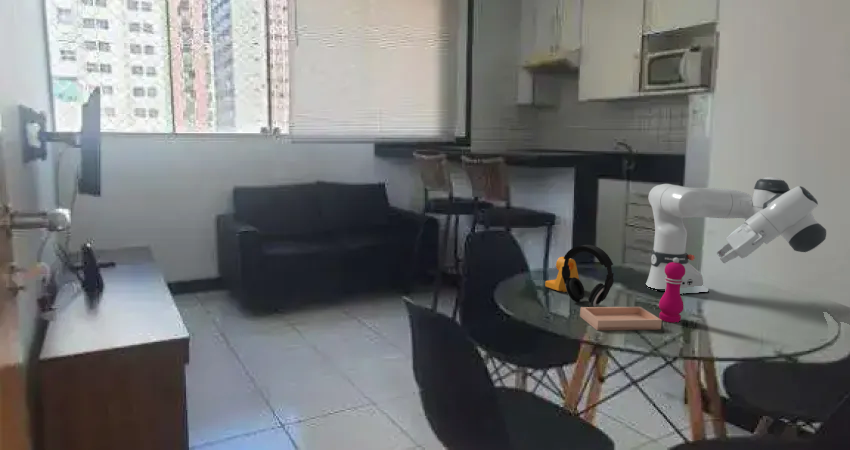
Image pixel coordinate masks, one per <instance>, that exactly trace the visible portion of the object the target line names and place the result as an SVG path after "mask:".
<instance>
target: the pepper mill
mask: <svg viewBox="0 0 850 450" xmlns="http://www.w3.org/2000/svg"><path fill="white" fill-rule="evenodd" d="M678 262H679V259H678V258H674V259H673V262H671V263H668V264H667V265H666V266H665V274H666V275H667V277H665V278H666V280H665V281H666V290H665V292H663V294H662V296H661V298H660V299H659V301H658V302H659V303H658V307H659V310H660V312H659V313H658V316H659V317H658V318H660V319H661V320H662V322H666V323H673V324H674V323H675V322H677V323H680V322H681V319H682V315H681V314H680V313H683V311H684V302H683V298H682V296H681V295H680V285H681V284H682V280H683V279H682V277H683V276H684V275H685V267H684V266H683V265H682V264H680V263H678ZM679 321H680V322H679Z"/></svg>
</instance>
